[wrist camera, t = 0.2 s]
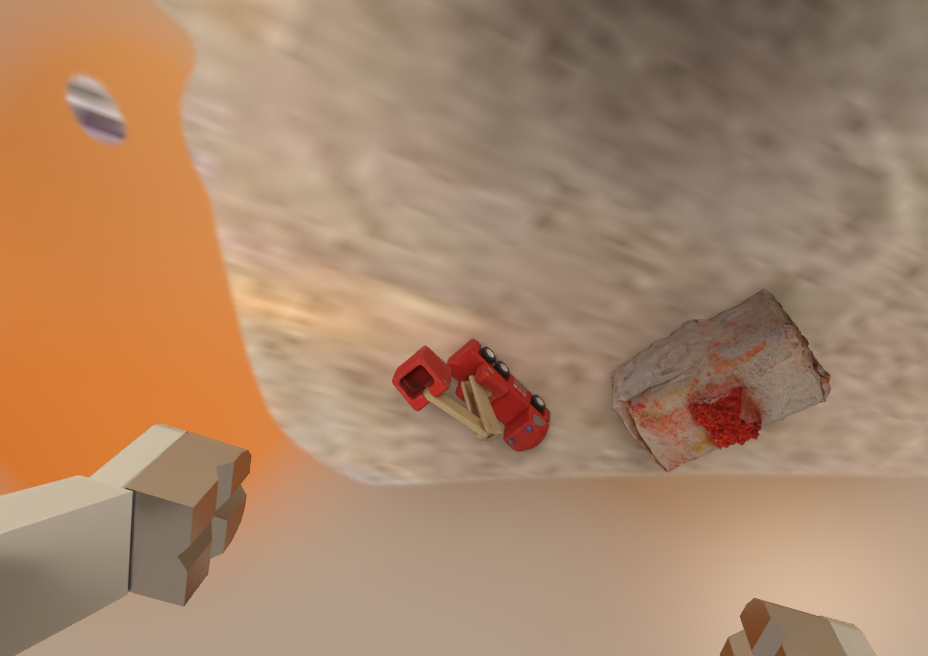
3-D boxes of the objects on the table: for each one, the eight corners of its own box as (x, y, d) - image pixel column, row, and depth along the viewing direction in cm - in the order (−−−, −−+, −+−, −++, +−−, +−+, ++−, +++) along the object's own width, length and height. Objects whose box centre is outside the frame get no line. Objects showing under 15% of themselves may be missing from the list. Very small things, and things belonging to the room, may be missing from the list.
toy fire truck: (527, 431, 56) (518, 506, 47) (418, 326, 53) (386, 385, 44) (555, 412, 54) (551, 484, 46) (445, 302, 51) (418, 358, 43)
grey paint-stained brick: (654, 426, 53) (669, 505, 45) (601, 358, 51) (606, 427, 43) (811, 346, 48) (862, 418, 39) (758, 267, 46) (800, 324, 37)
